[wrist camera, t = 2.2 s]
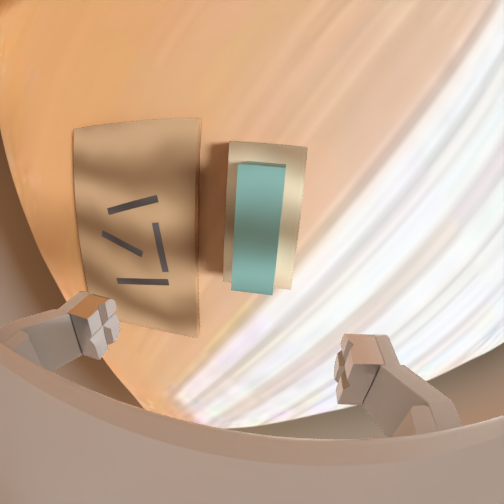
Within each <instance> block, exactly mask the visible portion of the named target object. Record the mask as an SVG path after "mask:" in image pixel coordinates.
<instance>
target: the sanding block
mask: <svg viewBox="0 0 504 504" xmlns="http://www.w3.org/2000/svg"><path fill="white" fill-rule="evenodd" d="M307 148H308V147H299V146H290V145H279V144H268V143H254V142H238V141H229V154H228V171H227V190H226V210H225V234H224V261H223V281H224V282H232V287H231V290H234V291H242V292H250V293H258V294H266V295H272V293H273V288H281V289H290V290H291V284H292V277H293V270H294V263H295V255H296V248H297V240H298V232H299V224H300V215H301V207H302V198H303V189H304V179H305V169H306V159H307Z"/></svg>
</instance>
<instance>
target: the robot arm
mask: <svg viewBox="0 0 504 504" xmlns="http://www.w3.org/2000/svg"><path fill="white" fill-rule="evenodd" d="M116 310H117V307H116V302H115V301H114V300H113V299H111V298H107V297H103V296H100V295H96V294H92V293H88V292H84V291H83V292H79V293H78V294H76V295H75V296H74V297H73V298H71V299H70V300H69V301H68V302H66V303H65V304H64V305H63V306H61V307H60V308H59V309H58V310H56V309H53V310H50V311H46V312H43V313H39V314H35V315H32V316H29V317H25V318H22V319H18V320H15V321H11V322H8V323H7V324H5V325H4V326H3V327H2V328H1V329H0V504H504V415H503V416H500V417H497V418H493V419H490V420H486V421H483V422H479V423H475V424H471V425H466V426H463V425H462V423H461V421H460V418H459V416H458V413H457V411H456V409H455V407H454V404H453V402H452V401H451V400H450V399H449V398H447V397H446V396H445V395H443V394H442V393H441V392H439V391H438V390H437V389H435V388H434V387H433V386H431V385H430V384H429V383H427V382H426V381H425V380H423V379H422V378H421V377H419V376H418V375H417V374H415V373H414V372H413V371H411V370H410V369H409V368H407V367H406V366H405V365H400V364H399V361H398V359H397V356H396V354H395V351H394V349H393V346H392V344H391V342H390V339H389V337H388V336H387V335H374V334H373V335H365V334H344V335H343V337H342V341H341V348H342V350H341V351H340V352H339V353H338V354H337V357H336V361H335V367H334V377H335V380H336V381H337V382H338V385H337V388H336V395H337V403H338V404H350V405H362V407H363V408H364V409H365V411H366V412H367V413H368V414H369V415H370V416H371V418H372V419H373V420H374V421H375V423H376V424H377V425H378V426H379V427H380V429H381V430H382V431H383V432H384V434H385V435H386V436H387V437H388V438H376V439H375V438H374V439H350V440H349V439H348V440H347V439H346V440H336V439H334V440H333V439H332V440H331V439H304V438H289V437H278V436H268V435H259V434H252V433H245V432H239V431H232V430H227V429H221V428H216V427H211V426H206V425H201V424H197V423H193V422H188V421H184V420H180V419H176V418H172V417H169V416H165V415H161V414H158V413H155V412H151V411H148V410H145V409H141V408H138V407H135V406H132V405H129V404H126V403H124V402H120V401H118V400H115V399H113V398H110V397H107V396H105V395H102V394H99V393H97V392H95V391H92V390H90V389H87V388H85V387H83V386H80V385H78V384H76V383H74V382H71V381H69V380H67V379H65V378H63V377H61V376H59V375H57V374H55V373H52V372H51V371H53V370H55V369H56V368H58V367H60V366H62V365H64V364H66V363H68V362H70V361H72V360H74V359H75V358H78V357H79V356H81V355H82V354H83V355H86V356H89V357H92V358H95V359H98V360H100V359H101V357H102V356H103V355H104V354H105V353H106V351H107V350H108V345H109V344H111V343H114V342H115V340H116V339H117V338H118V335H119V332H120V322H119V319H118V317H117V316H116V314H115V312H116Z"/></svg>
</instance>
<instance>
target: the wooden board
mask: <svg viewBox="0 0 504 504" xmlns="http://www.w3.org/2000/svg"><path fill="white" fill-rule="evenodd" d="M201 123H202V119H201V118H170V119H153V120H140V121H129V122H119V123H110V124H103V125H95V126H89V127H82V128H76V129H74V149H73V154H74V188H75V203H76V214H77V224H78V233H79V241H80V248H81V255H82V261H83V267H84V272H85V278H86V283H87V288H88V293H92V294H96V295H100V296H103V297H107V298H111V299H113V300H114V301H115V302H116V307H117V310H116V312H115V314H116V316H117V317H118V319H119V321H120V322H124V323H128V324H133V325H137V326H141V327H145V328H150V329H154V330H159V331H164V332H169V333H174V334H179V335H184V336H189V337H195V338H198V336H199V334H200V322H199V290H198V195H199V163H200V141H201Z"/></svg>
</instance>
